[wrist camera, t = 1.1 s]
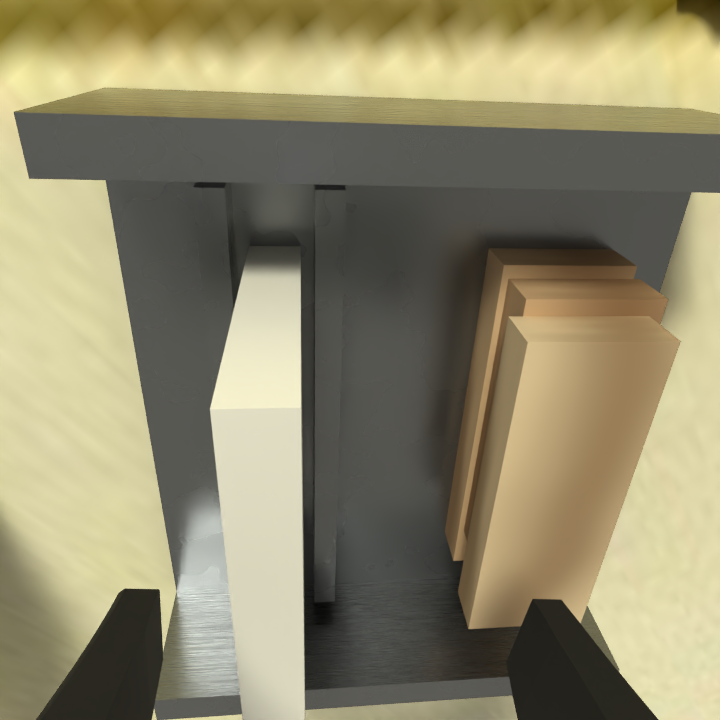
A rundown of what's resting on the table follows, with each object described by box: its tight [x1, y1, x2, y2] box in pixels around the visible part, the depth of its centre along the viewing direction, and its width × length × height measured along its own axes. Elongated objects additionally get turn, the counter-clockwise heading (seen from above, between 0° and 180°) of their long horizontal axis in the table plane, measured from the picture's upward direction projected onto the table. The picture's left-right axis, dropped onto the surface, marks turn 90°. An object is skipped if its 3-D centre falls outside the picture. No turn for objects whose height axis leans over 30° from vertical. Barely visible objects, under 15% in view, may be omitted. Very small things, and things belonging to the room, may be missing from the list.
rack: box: [14, 88, 720, 720], centre depth 19 cm, size 17×20×6 cm
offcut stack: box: [445, 248, 681, 629], centre depth 19 cm, size 4×12×4 cm, turn 178°
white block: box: [210, 246, 305, 720], centre depth 16 cm, size 2×12×8 cm, turn 178°
